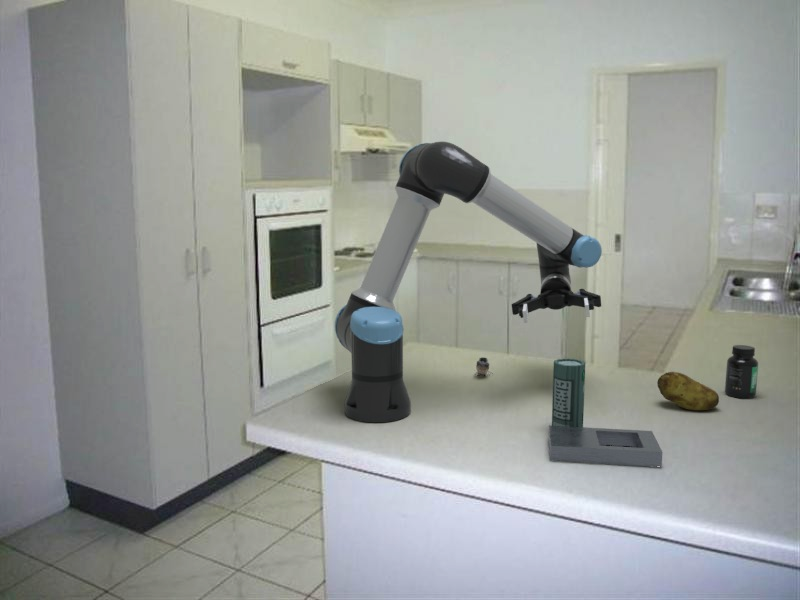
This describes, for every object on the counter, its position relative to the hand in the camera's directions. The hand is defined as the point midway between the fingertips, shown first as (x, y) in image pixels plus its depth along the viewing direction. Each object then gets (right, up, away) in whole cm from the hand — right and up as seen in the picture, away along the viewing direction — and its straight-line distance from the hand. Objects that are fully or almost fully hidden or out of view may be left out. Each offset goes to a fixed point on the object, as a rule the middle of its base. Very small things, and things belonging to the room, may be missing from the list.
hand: (555, 314), depth 155 cm
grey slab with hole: (+5, -26, -19) cm, 33 cm away
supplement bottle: (+49, -20, +16) cm, 55 cm away
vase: (-12, -18, +33) cm, 40 cm away
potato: (+32, -22, +7) cm, 39 cm away
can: (+1, -25, -7) cm, 26 cm away
